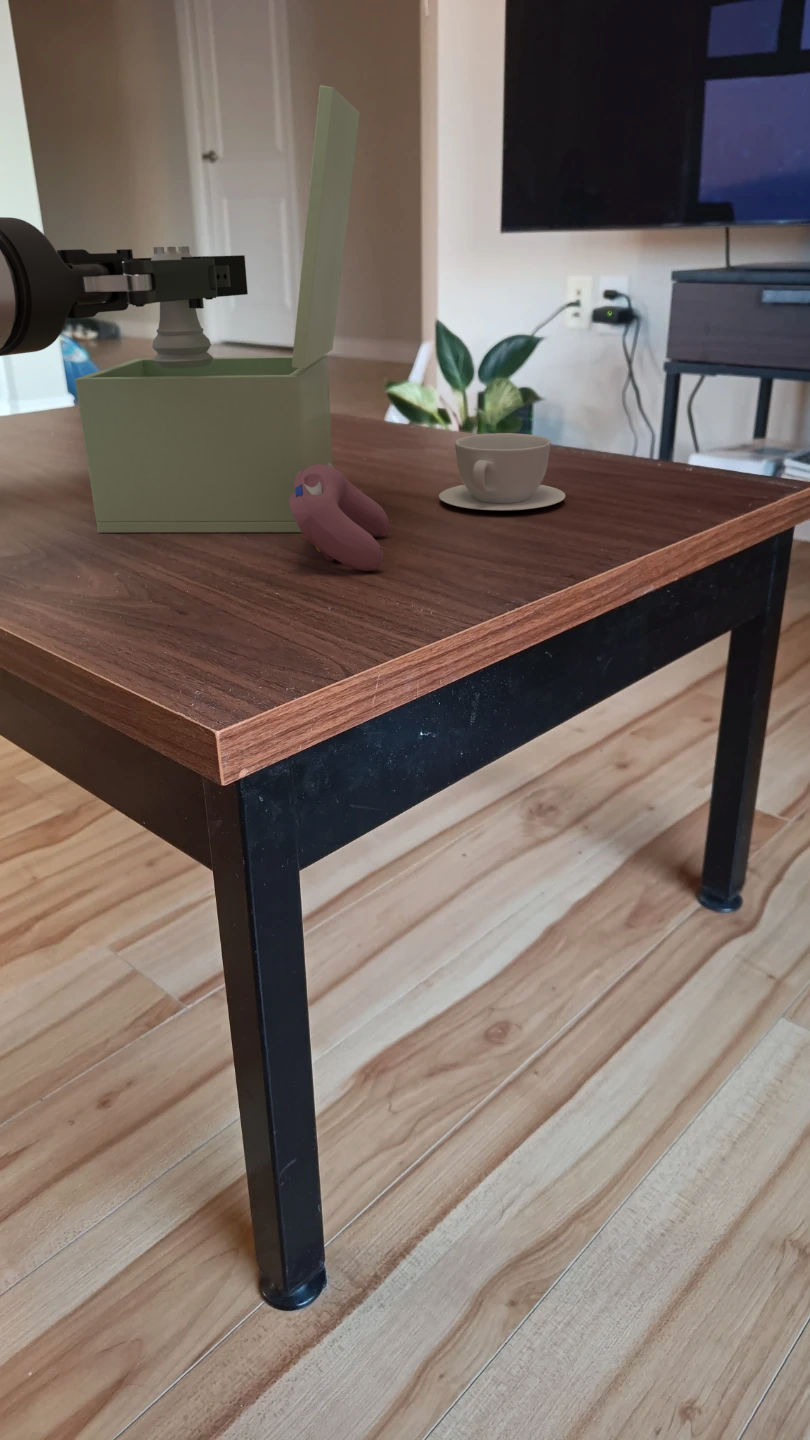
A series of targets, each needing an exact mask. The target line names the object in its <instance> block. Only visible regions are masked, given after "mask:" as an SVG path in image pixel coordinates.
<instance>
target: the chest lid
mask: <svg viewBox="0 0 810 1440" xmlns="http://www.w3.org/2000/svg"><path fill="white" fill-rule="evenodd" d="M360 115H361V113H360V111H358V110H357V108H355V107H354V105H352V104H351V103H350V102H349V101H348V100H347V99H346V98H345V97H344V96H343V95H341V93H340V92H339V91H338V90H337V89H335V87H333V86H327V85H319V91H318V102H317V110H316V120H315V121H316V122H315V132H314V139H313V140H314V141H313V151H312V159H311V160H312V161H311V170H310V171H311V172H310V173H311V174H310V181H309V191H308V201H307V211H306V221H305V231H304V239H303V240H304V241H303V251H302V261H301V271H300V280H299V291H298V301H297V309H296V310H297V311H296V321H295V329H294V339H293V349H292V356H293V359H292V367H293V368H298V369H305V368H306V367H308V366H309V365H311V364H312V363H313V362H315V361H316V360H318V359H319V358H321V357H322V356H326V355H327V354H329V352H331V351H332V350H333V346H334V339H335V331H336V330H335V329H336V321H337V315H338V314H337V313H338V304H339V295H340V288H341V287H340V286H341V278H342V269H343V261H344V252H345V245H346V244H345V242H346V235H347V227H348V220H349V219H348V217H349V210H350V200H351V191H352V183H353V176H354V175H353V174H354V167H355V157H356V151H357V150H356V149H357V140H358V133H359V125H360V124H359V123H360Z"/></svg>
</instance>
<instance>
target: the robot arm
mask: <svg viewBox="0 0 810 1440" xmlns="http://www.w3.org/2000/svg"><path fill="white" fill-rule="evenodd" d="M151 259H152V257H135V258H134V253H133V249H132V248H129V249H127V248H125V249H121V248H120V249H116V250H115V252H103V253H101V252H99V253H98V252H97V253H90V252H88V250H86V249H83V248H81V249H79V248H77V249H57V250H56V248H55V246H54V245H53V244H52V242H51V241H50V240H49V239H48V237H47V236H46V235H45V234H44V233H43V232H42V231H41V230H40V229H38V228H37V227H36V226H35V225H33V224H31V223H30V222H28V221H26V220H24V219H21V218H17V217H10V216H9V217H6V216H5V217H4V216H3V217H2V216H1V217H0V357H5V356H11V355H12V356H13V355H18V354H19V355H20V354H28V353H36V352H40V351H43V350H45V349H47V348H49V347H50V346H51V345H52V344H54V342H56V341H57V339H58V338H59V336H60V335H61V333H62V332H63V330H64V328H65V325H66V322H67V319H85V318H93V317H95V316H96V315H97V314H98V313H106V312H107V313H108V312H121V311H126V310H127V309H128V308H129V305H132V306H135V307H136V308H139V307H140V308H141V307H145V305H151V304H155V303H160V302H167V301H178V300H189V308H196V310H197V309H204V308H205V306H204V299H205V301H206V300H209V301H211V300H214V299H217V298H220V297H232V296H233V297H235V296H246V295H248V294H249V292H248V291H249V290H248V281H247V279H248V278H247V267H246V255H243V254H241V255H240V254H239V255H204V256H203V255H202V256H198V255H197V256H192V257H181V259H180V260H151Z"/></svg>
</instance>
